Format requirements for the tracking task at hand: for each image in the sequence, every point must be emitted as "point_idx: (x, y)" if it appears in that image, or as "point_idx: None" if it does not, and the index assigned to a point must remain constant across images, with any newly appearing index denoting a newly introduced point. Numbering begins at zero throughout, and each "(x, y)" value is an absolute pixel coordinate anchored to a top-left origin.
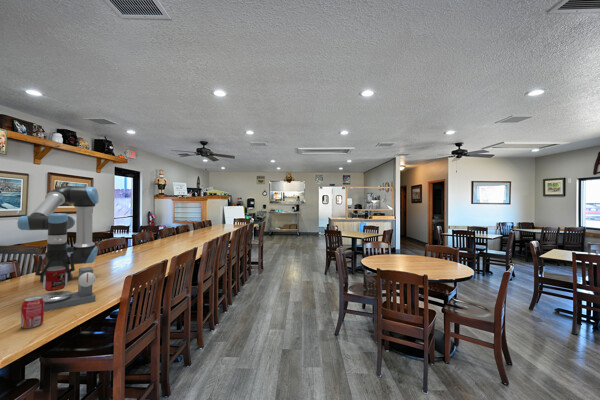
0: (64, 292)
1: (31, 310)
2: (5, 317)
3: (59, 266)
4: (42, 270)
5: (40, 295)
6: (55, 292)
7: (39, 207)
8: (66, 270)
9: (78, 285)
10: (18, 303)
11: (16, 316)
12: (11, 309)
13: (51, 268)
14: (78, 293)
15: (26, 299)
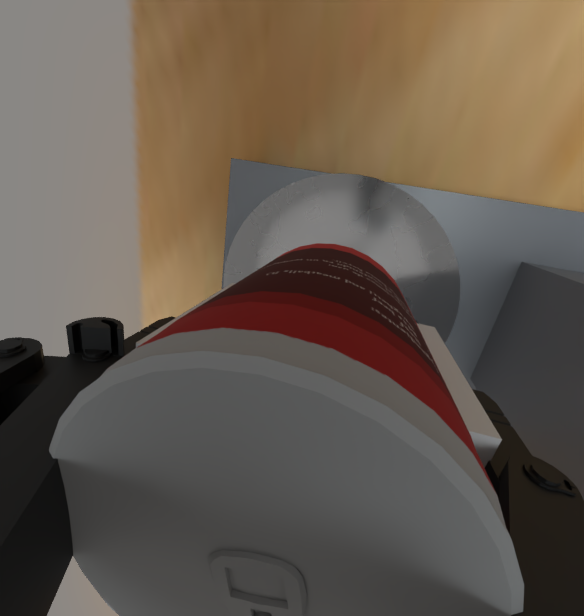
0: (413, 275)
1: None
2: (141, 285)
3: (411, 468)
4: (24, 410)
5: (260, 208)
6: (367, 207)
7: None
8: (501, 498)
9: (565, 294)
10: (193, 16)
11: (175, 311)
12: (159, 154)
13: (173, 454)
14: (511, 292)
15: None
